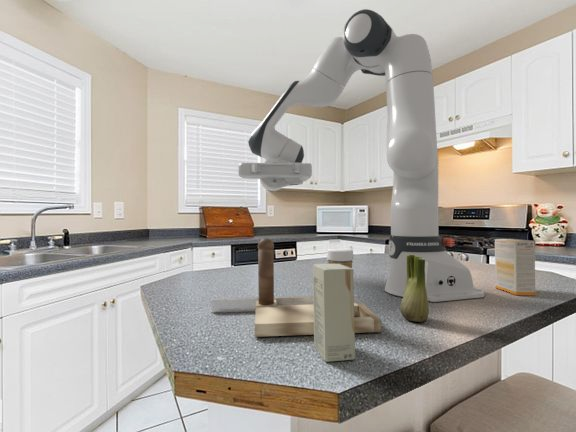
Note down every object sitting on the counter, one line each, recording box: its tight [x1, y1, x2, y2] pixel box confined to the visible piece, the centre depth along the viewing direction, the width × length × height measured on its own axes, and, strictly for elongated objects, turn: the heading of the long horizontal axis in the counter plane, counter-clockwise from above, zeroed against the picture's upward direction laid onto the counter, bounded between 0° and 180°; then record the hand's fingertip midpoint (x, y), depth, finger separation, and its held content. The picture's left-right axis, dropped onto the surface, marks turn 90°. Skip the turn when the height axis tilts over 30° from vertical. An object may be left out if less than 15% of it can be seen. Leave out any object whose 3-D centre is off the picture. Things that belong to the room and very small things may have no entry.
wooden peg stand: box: [254, 237, 382, 338], centre depth 58 cm, size 20×14×15 cm
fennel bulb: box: [399, 255, 430, 323], centre depth 58 cm, size 6×5×12 cm
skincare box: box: [312, 263, 356, 363], centre depth 45 cm, size 6×4×12 cm
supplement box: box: [494, 238, 536, 296], centre depth 79 cm, size 8×5×13 cm, turn 179°
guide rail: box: [211, 293, 359, 313], centre depth 66 cm, size 30×2×2 cm, turn 95°
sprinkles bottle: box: [326, 247, 354, 269], centre depth 56 cm, size 5×5×13 cm
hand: (276, 166), depth 81 cm, fingers open, 8 cm apart
